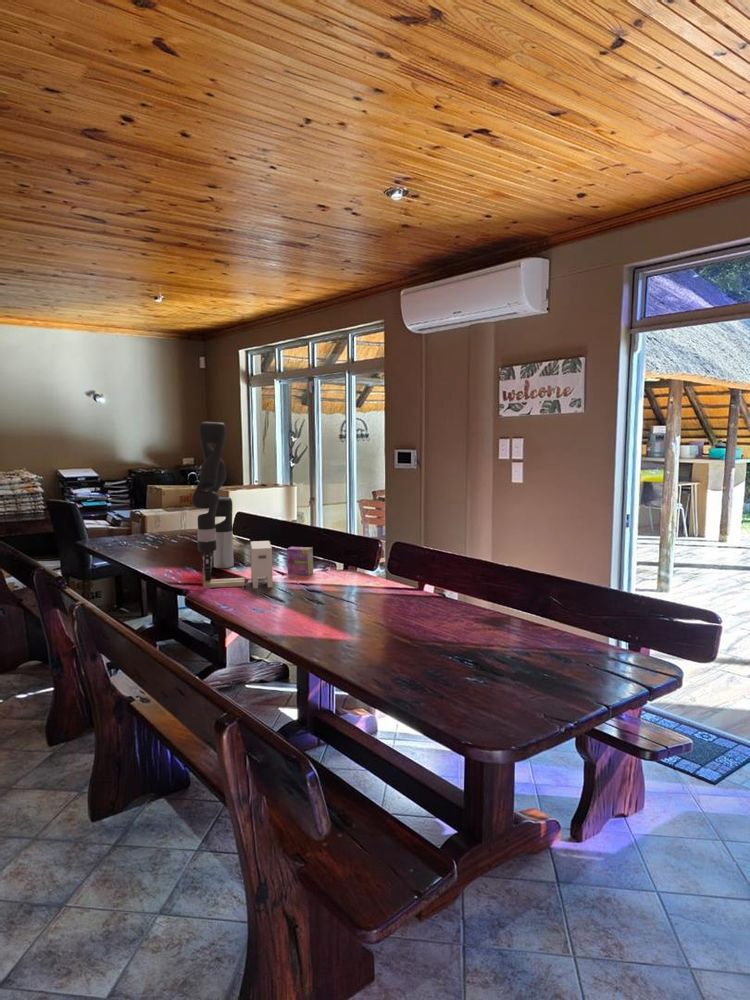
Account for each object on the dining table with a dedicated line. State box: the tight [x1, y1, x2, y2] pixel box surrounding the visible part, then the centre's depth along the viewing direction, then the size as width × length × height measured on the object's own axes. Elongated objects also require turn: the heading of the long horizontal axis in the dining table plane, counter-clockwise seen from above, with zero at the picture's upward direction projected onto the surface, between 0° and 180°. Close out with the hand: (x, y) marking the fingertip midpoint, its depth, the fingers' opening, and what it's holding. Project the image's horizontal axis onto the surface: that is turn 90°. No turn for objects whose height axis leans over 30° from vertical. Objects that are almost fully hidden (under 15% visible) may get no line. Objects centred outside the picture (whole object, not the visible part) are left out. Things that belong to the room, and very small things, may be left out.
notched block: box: [250, 540, 274, 589], centre depth 271 cm, size 19×8×16 cm, turn 13°
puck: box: [258, 577, 268, 585], centre depth 272 cm, size 5×5×2 cm
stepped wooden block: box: [202, 566, 246, 589], centre depth 269 cm, size 7×17×8 cm, turn 102°
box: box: [286, 546, 314, 576], centre depth 289 cm, size 10×6×12 cm, turn 73°
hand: (208, 579), depth 267 cm, fingers open, 3 cm apart
